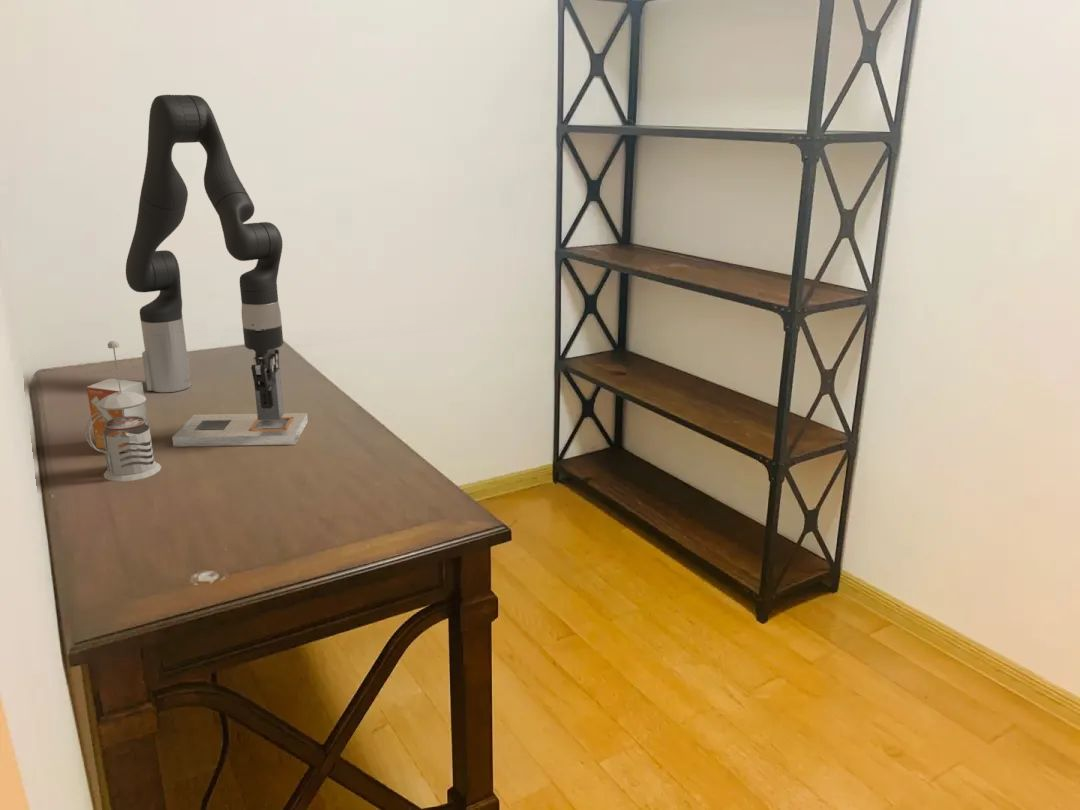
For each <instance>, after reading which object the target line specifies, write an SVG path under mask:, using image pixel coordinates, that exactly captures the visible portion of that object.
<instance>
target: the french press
mask: <svg viewBox="0 0 1080 810" xmlns="http://www.w3.org/2000/svg"><path fill="white" fill-rule="evenodd" d="M107 348H108V349H112V350H113V356H114V362H115V363H114V364H115V369H116V376H117V380H118V383H119V389H120V392H117V393H113V394H111V395H108V396H106V397H104V398H103V399H101V400H100V401H99V402H98V403H97V404H98V406H99V408H101V409H104V410H122V409H123V417H117V418H114V419H111V420H109V421H106V422H105V424H104V427H105V428H106V430H105V431H104V432H103V437H104V443H105V449H101V448H96V445H95V443H93V441H92V436H91V433H92V432H91V431H92V428H93V423H94V422H95V420H96V419H97V418H99V417H100V420H101V421H105V420H104V416H103V415H100V413H95V414H94V415H93V416H91V415H90V416H91V417H90V418H89V419H88V420H87V422H86V425H85V429H84V433H85V439H86V440H87V442H88V443H87V444H89V446H90V447H91V448H93V449H94V450H95V451H98V452H100V453H103V454H104V455H105V461H106V467H107V469H106V471H105V472H104V473H103V477H104V479H106V480H108V481H111V482H133V481H138V480H144V479H146V478H149V477H151V476H154V475H156V474H157V473H159V472H160V471H161V469H162V466H161V464H160V463H159V462H156V460H155V458H154V452H153V443H152V436H151V429H150V426H149V424H148V425H146V424H145V423H146V421H147V420H148V419H147V420H146V418H144V417H141V416H134V415H133V416H127V417H126V416H125V414H124V409H128V408H133V407H136V406H140V405H142V404H144V403H145V404H146V401H147V397H146V396H145V395H144V396H143V395H140V394H138V393H134V392H121V388H120V382H119V380H120V376H119V370H118V364H117V363H118V362H117V355H116V351H115V349H117V348H120V343H119V341H117V340H110V341H109V342H108V343H107ZM96 414H99V416H98V417H96V418H95V419H94V420H93V422H92V417H94V416H95V415H96ZM101 416H102V418H103V420H102V419H101ZM90 421H91V424H90V427H89V423H90ZM88 427H89V430H88ZM114 431H122V432H126V433H132V434H138V435H134V436H126V435H121V434H117V435H113V436H111V437H108V435H109V434H110V433H112V432H114ZM130 442H143V443H140V444H136V443H130ZM120 444H124V445H128V446H125V447H118V445H120ZM134 448H138V449H134ZM121 451H128V453H126V452H122V453H121Z"/></svg>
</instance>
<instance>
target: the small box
mask: <svg viewBox="0 0 1080 810" xmlns="http://www.w3.org/2000/svg"><path fill="white" fill-rule="evenodd" d="M119 382H120V388H121V392H134V393H138V394H140V395H143V396H145V393H144V387H143V386H144V385H143V382H141V381H140V382H139V381H132V380H127V379H119ZM86 391H87V392H86V393H87V397H88V398H87V399H88V403H89V404H88V405H89V410H90V416H93V415H94V414H95V413H100V415H103V416H104V420H105V421H101V420H100V417H99V418H97V419H96V420H95V422H94V423H93V425H92V428H93V430H92V431H93V435H94V442H95V443H94V444H95V447H96V448H98V449H103V450H106V449H105V443H104V437H103V432H104V431H105V430H106V428H105V427H104V424H105V422H106V421H109V420H111V419H114V418H117V417H123V409H122V410H104V409H101V408H99V406H98V404H97V403H98V402H99V401H100V400H101V399H103V398H104V397H106V396H108V395H111V394H113V393H117V392H120V389H119V383H118V378H116V379H115V378H107V379H104V380H101V381H99V382H95V383H92V384H91V385H88V386H86ZM124 414H125V416H126V417H127V416H133V415H134V416H141V417H144V418H146V420H147V421H146V423H145V424H146V425H148V426H149V421H148V420H149V419H148V415H147V407H146V402H145V403H144V404H142V405H140V406H136V407H133V408H128V409H124ZM98 416H99V414H96V415H95V416H94V417H92V419H91V423H92V422H93V420H94V419H95V418H96V417H98ZM101 419H102V420H103V418H102V416H101ZM117 434H121V435H126V436H134V435H138V434H132V433H126V432H122V431H114V432H112V433H110V434H109V435H108V437H111V436H113V435H117ZM130 443H136V444H140V443H143V442H130ZM125 446H128V445H124V444H120V445H118V447H125ZM134 449H136V450H139V448H134ZM121 452H122V453H128V451H121ZM121 452H120V453H121Z"/></svg>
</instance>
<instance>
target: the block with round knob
mask: <svg viewBox="0 0 1080 810" xmlns="http://www.w3.org/2000/svg"><path fill="white" fill-rule="evenodd" d="M273 369H274V368H273ZM269 374H270V373H267V376H268V375H269ZM253 384H254V383H253ZM261 384H262V385H265V384H264V382H263V381H261ZM254 387H255V384H254ZM271 387H272V389H271V392H272V402H273V406H272V408H262V407H261V400H260V391H256V389H255V388H254V394H255V395H254V396H255V405H256V414H257V416H258V420H280V419H281V417H282V416H283V414H284V413H285V409H284V406H285V405H284V397H283V395H284V394H283V386H282V375H281V367H279V368H277V369H274V373H273V379H271Z"/></svg>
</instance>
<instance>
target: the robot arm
mask: <svg viewBox="0 0 1080 810" xmlns="http://www.w3.org/2000/svg"><path fill="white" fill-rule="evenodd" d="M147 136H148V138H147V153H146V162H145V170H144V175H143V179H142V180H143V181H142V185H141V189H140V190H141V191H140V196H139V202H138V212H137V218H136V222H135V223H136V224H135V230H134V234H133V237H132V240H131V244H130V247H129V251H128V254H127V258H126V263H125V277H126V278H125V279H126V282H127V284H128V286H129V288H130V289H132V290H133V291H134V292H136V293H152V292H159V294H158V296H157V297H155V298H154V299H153V300H152V301H150V302H149V303H147V304H145V305H144V306H141V308H140V309H139V319H140V324H141V326H140V327H141V332H142V339H143V345H144V346H143V347H144V351H143V352H142V355H141V357H142V364H143V369H144V371H143V372H144V377H145V384H146V391H149V392H150V391H152V392H155V393H173V392H180V391H183V390H186V389H188V388H190V387H191V385H192V383H191V375H190V367H189V359H188V358H189V357H188V351H187V350H188V349H187V343H186V342H187V341H186V335H185V328H184V327H185V326H184V318H183V299H182V298H183V297H182V284H181V274H180V273H181V272H180V271H181V270H180V267H179V266H180V265H179V263H178V259H177V257H176V255H175V254H174V253H173V252H172V251H170V250H165V249H164V250H163V249H162V250H157V249H158V248H159V246H160V245H161V244H163V242H164V241H165V240H166V239H167V238H168V237H169V236H171V234H173V232H175V230H176V229H177V228H178V227H179V226H180V224H181V223H182V222H183V219H184V216H185V212H186V208H187V203H188V196H189V193H188V187H187V185H186V183H185V181H184V179H183V178H182V176H181V174H180V173H179V171H178V169H177V168H176V167H175V164H174V162H173V159H172V158H173V157H172V155H173V148H174V146H175V145H176V144H182V143H183V144H186V143H187V144H188V143H199V144H200V145H201V146H202V147H203V150H204V151H205V153H206V163H205V164H206V165H205V169H204V174H203V187H204V189H205V193H206V195H207V197H208V199H209V201H210V203H211V204H212V207H213V208H214V210H215V212H216V213H217V215H218V217H219V220H220V221H219V222H220V225H221V230H222V232H223V237H224V238H223V239H224V243H225V247H226V250H227V252H228V253H229V255H230V256H232V258H234V259H235V260H237V261H240V262H246V261H247V262H248V261H253V260H254V261H255V260H256V261H257V262H256V265H255V267H254V268H253V269H251V270H249V271H246V272H244V273H242V274H241V275H240V277H239V289H240V291H239V292H240V300H241V322H242V332H243V340H244V341H243V342H244V343H243V344H244V348H246V349H248V350H251V351H254V352H255V355H254V356H253V364H251V372H252V379H253V384H255V386H254V390H255V389H256V391H260V400H261V407H262V408H272V406H273V402H272V392H271V389H272V387H271V379H273V373H274V369H277V368H280V349H279V348H280V347H282V346H283V345H284V337H283V336H284V334H283V326H282V325H283V324H282V315H281V313H282V312H281V309H280V304H279V303H280V302H279V296H278V295H279V293H278V285H277V284H278V283H277V282H278V276H279V268H280V262H281V257H282V254H283V253H282V252H283V236H282V235H281V232H280V230H279V229H278V227H277V226H276V225H275V224H274V223H272V222H269V221H268V222H267V221H261V222H252V223H245V222H247V221H249V220H250V219H251V218H252V217H253V216H254V213H255V205H254V202H253V201H252V199H251V197H250V196H249V193H248V192H247V189H246V188H245V187H244V184H243V183H242V181H241V180H240V177H239V176H238V175H237V173H236V170H235V168H234V166H233V164H232V163H233V162H232V160H231V158H230V155H229V152H228V149H227V147H226V143H225V141H224V138H223V136H222V133H221V130H220V128H219V125H218V123H217V120H216V118H215V115H214V113H213V111H212V109H211V107H210V106H209V103H208V102H207V101H206V100H205V99H204V98H203V97H201V96H199V95H193V94H162V95H157V96H155V98H154V99H153V100H152V102H151V106H150V109H149V118H148V134H147ZM273 368H274V369H273ZM267 373H270V374H269V375H268V376H267ZM261 381H263V382H264V384H265V385H262V384H261Z"/></svg>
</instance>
